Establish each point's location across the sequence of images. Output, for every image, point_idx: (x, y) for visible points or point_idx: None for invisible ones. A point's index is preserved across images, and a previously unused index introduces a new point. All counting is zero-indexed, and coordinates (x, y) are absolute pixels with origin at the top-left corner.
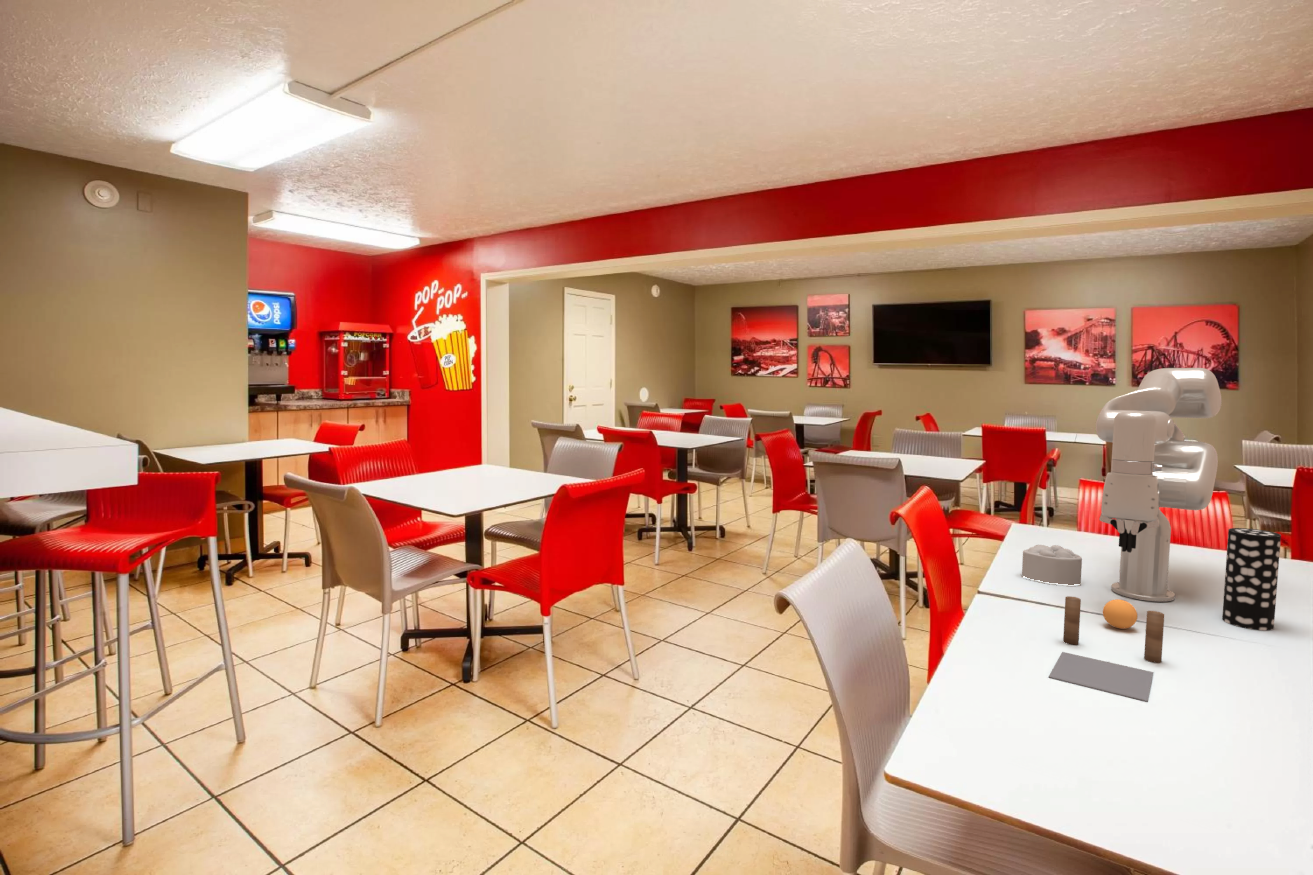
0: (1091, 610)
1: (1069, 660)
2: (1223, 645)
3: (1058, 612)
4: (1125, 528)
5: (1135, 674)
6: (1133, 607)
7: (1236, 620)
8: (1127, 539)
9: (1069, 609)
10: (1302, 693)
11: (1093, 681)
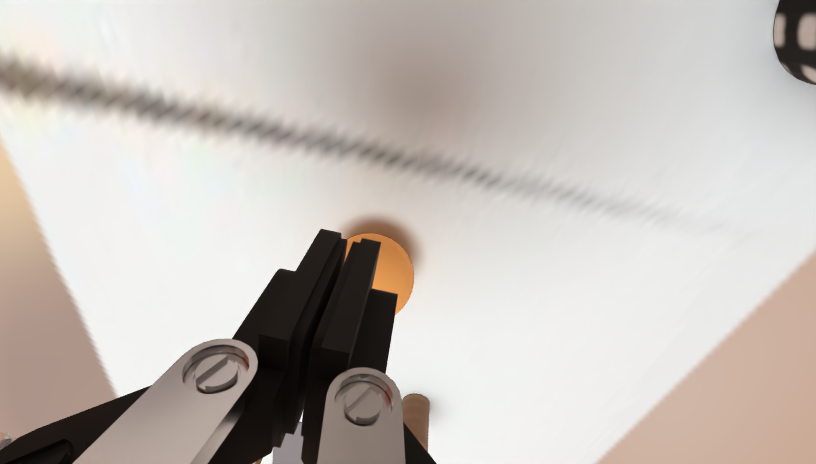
0: (306, 113)
1: (289, 442)
2: (603, 283)
3: (221, 186)
4: (249, 382)
5: None
6: (398, 306)
7: (801, 66)
8: (321, 314)
9: None
10: (611, 447)
11: None
